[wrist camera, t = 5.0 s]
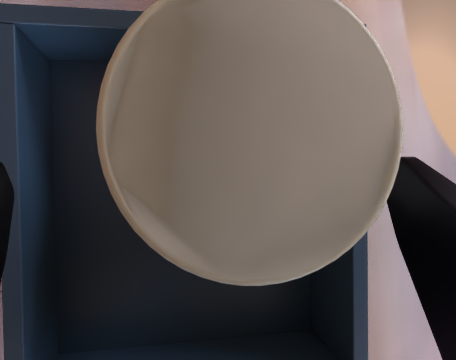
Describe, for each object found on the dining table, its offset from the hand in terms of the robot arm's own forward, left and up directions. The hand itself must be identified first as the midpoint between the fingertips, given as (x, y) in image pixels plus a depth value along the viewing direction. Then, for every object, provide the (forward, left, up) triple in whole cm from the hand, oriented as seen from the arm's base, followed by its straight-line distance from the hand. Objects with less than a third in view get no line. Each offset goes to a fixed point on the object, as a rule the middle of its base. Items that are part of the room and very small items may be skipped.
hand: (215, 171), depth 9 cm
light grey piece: (0, 0, -8) cm, 8 cm away
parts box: (-1, -1, -8) cm, 9 cm away
